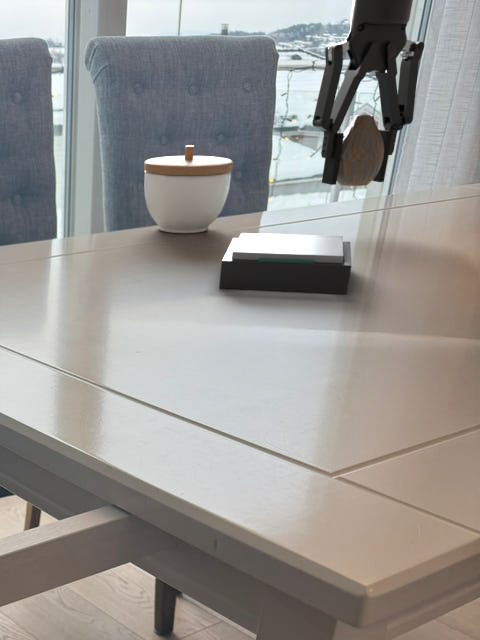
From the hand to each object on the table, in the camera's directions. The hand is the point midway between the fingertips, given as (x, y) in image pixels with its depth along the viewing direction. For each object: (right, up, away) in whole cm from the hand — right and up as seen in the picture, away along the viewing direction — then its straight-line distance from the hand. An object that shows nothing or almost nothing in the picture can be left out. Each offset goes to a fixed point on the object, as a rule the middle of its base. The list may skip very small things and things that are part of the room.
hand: (352, 182), depth 135 cm
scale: (-17, -23, -24) cm, 38 cm away
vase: (0, -1, 0) cm, 1 cm away
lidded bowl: (-24, -5, +4) cm, 25 cm away
